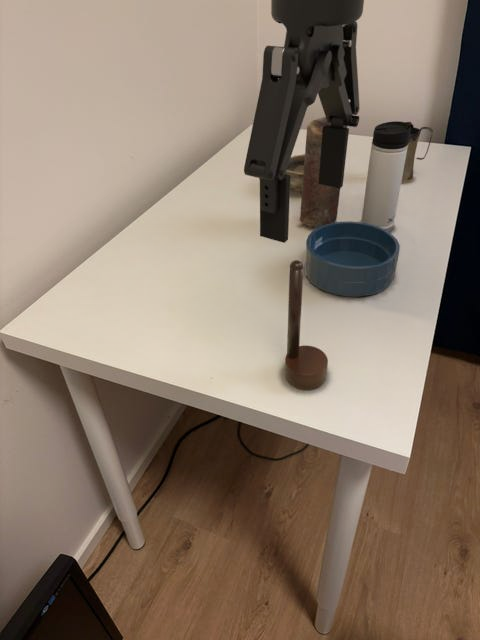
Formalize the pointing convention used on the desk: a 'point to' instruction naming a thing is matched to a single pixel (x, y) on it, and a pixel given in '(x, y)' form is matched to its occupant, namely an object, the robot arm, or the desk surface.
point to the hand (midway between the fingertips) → (304, 209)
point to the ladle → (301, 361)
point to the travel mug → (385, 173)
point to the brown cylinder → (316, 182)
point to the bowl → (296, 171)
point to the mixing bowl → (351, 258)
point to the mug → (412, 153)
